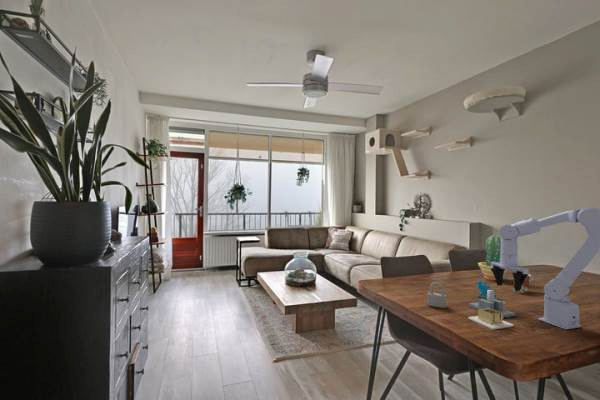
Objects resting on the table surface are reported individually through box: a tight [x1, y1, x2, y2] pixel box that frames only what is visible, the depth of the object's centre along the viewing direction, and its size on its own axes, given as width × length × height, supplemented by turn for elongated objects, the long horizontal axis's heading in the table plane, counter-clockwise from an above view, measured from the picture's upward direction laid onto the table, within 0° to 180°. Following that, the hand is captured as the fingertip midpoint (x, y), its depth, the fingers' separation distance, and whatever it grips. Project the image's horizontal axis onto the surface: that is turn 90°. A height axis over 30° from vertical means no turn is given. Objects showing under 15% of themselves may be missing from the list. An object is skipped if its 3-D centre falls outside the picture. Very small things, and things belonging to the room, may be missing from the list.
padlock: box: [426, 281, 447, 309], centre depth 128 cm, size 7×4×10 cm, turn 64°
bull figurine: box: [512, 273, 535, 294], centre depth 153 cm, size 4×13×8 cm, turn 112°
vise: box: [468, 290, 516, 319], centre depth 124 cm, size 14×12×8 cm
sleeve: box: [477, 308, 504, 325], centre depth 111 cm, size 6×6×4 cm
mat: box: [468, 315, 514, 331], centre depth 111 cm, size 10×10×1 cm
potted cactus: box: [477, 235, 508, 281], centre depth 177 cm, size 15×15×25 cm
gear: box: [476, 280, 498, 300], centre depth 140 cm, size 11×6×10 cm
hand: (508, 287), depth 124 cm, fingers open, 7 cm apart
